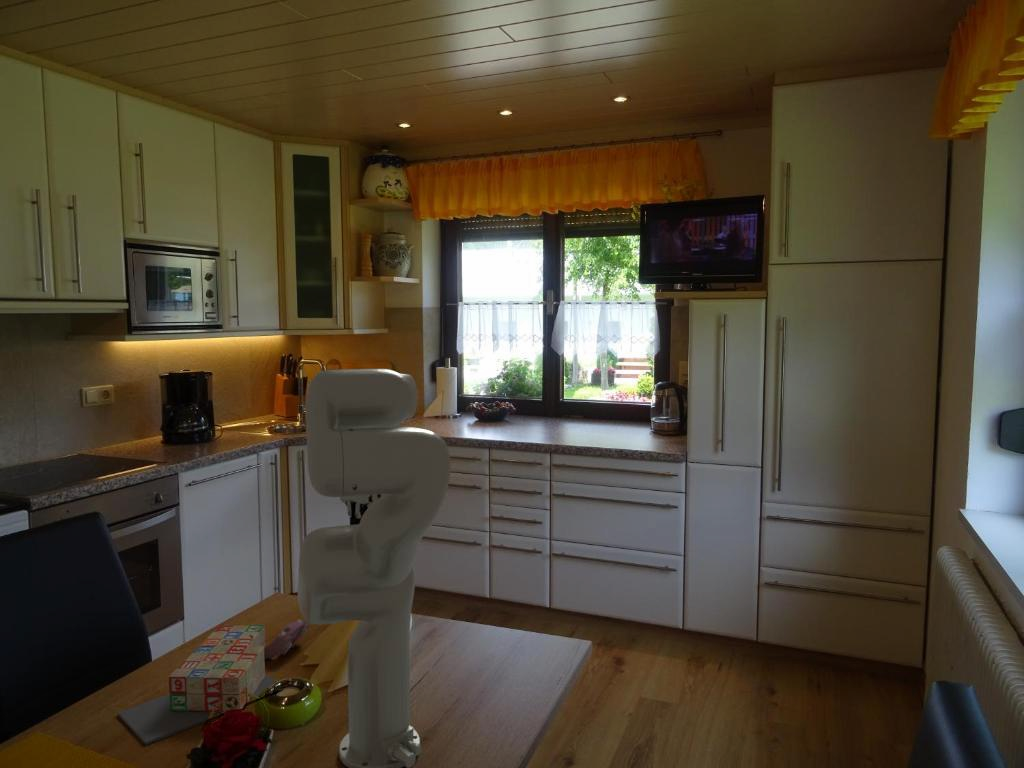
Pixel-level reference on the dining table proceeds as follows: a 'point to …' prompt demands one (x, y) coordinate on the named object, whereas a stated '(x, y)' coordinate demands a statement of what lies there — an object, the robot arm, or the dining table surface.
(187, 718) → the mat
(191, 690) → the stack of blocks
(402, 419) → the robot arm
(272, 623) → the dining table surface
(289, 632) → the purple toy animal
